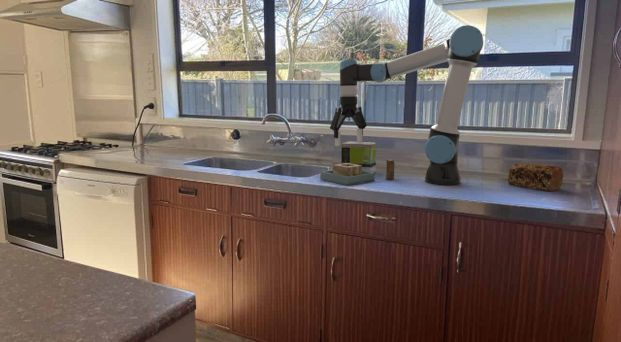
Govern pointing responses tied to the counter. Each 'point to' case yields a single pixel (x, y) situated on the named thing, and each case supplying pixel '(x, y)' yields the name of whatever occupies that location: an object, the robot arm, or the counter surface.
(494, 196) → the counter surface
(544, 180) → the bread
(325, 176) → the tray
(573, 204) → the counter surface
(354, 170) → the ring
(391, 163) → the post
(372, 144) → the tea box
